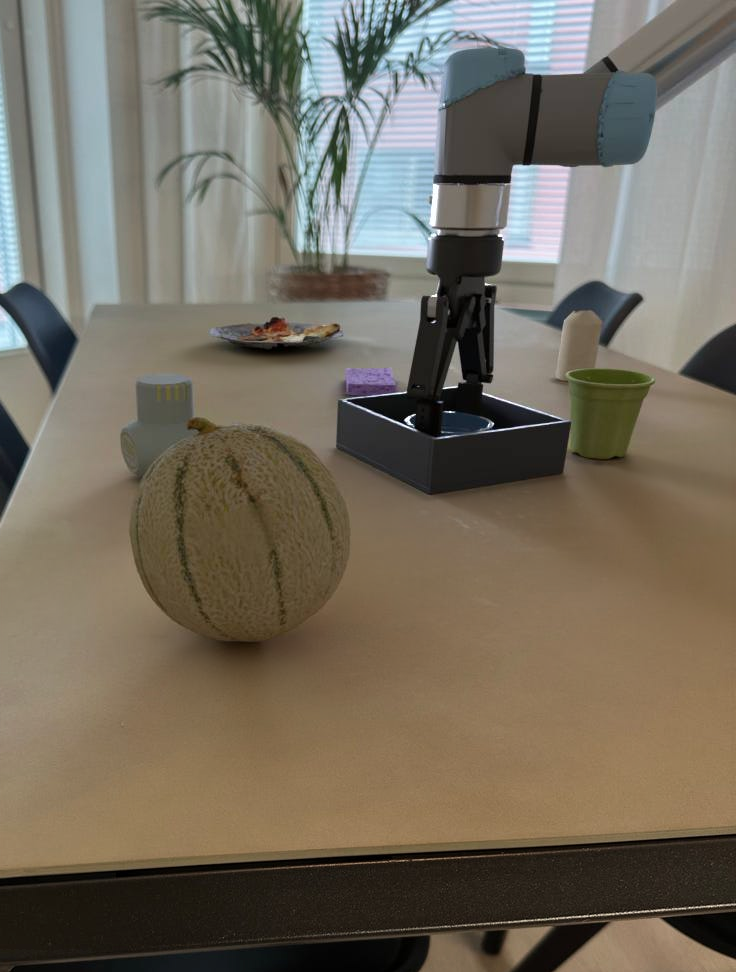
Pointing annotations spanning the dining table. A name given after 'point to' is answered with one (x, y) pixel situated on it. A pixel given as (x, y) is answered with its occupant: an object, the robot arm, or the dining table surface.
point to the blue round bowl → (458, 423)
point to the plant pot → (605, 409)
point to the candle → (578, 342)
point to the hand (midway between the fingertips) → (445, 450)
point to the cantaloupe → (239, 532)
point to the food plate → (276, 333)
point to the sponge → (370, 381)
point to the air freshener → (157, 419)
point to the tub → (452, 442)
